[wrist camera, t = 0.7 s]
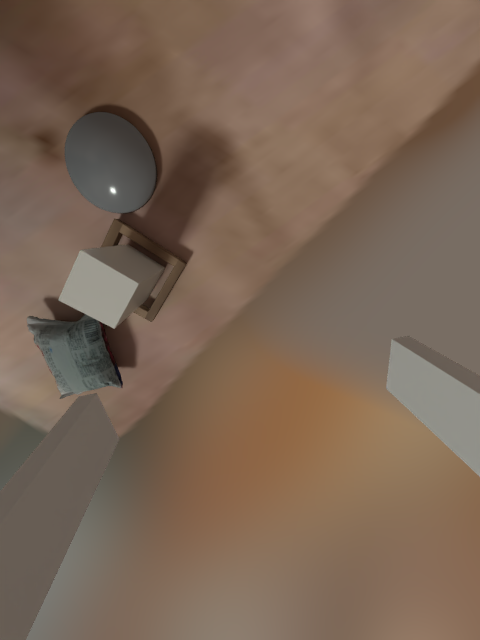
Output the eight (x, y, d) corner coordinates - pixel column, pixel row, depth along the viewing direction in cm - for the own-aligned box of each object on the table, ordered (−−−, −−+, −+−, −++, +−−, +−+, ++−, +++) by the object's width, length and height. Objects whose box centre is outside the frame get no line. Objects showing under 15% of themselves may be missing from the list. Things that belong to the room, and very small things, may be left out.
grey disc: (57, 179, 25) (51, 177, 24) (89, 93, 22) (84, 88, 22) (135, 229, 27) (132, 229, 26) (171, 156, 25) (170, 153, 24)
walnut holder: (88, 283, 29) (83, 285, 28) (118, 219, 27) (114, 218, 25) (154, 318, 31) (151, 322, 30) (187, 263, 29) (185, 264, 28)
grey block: (110, 278, 29) (58, 300, 20) (127, 244, 28) (80, 249, 18) (147, 299, 30) (114, 328, 21) (165, 267, 29) (138, 283, 20)
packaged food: (71, 385, 34) (48, 409, 30) (38, 311, 30) (5, 325, 25) (130, 377, 35) (116, 399, 30) (105, 303, 30) (85, 315, 26)
